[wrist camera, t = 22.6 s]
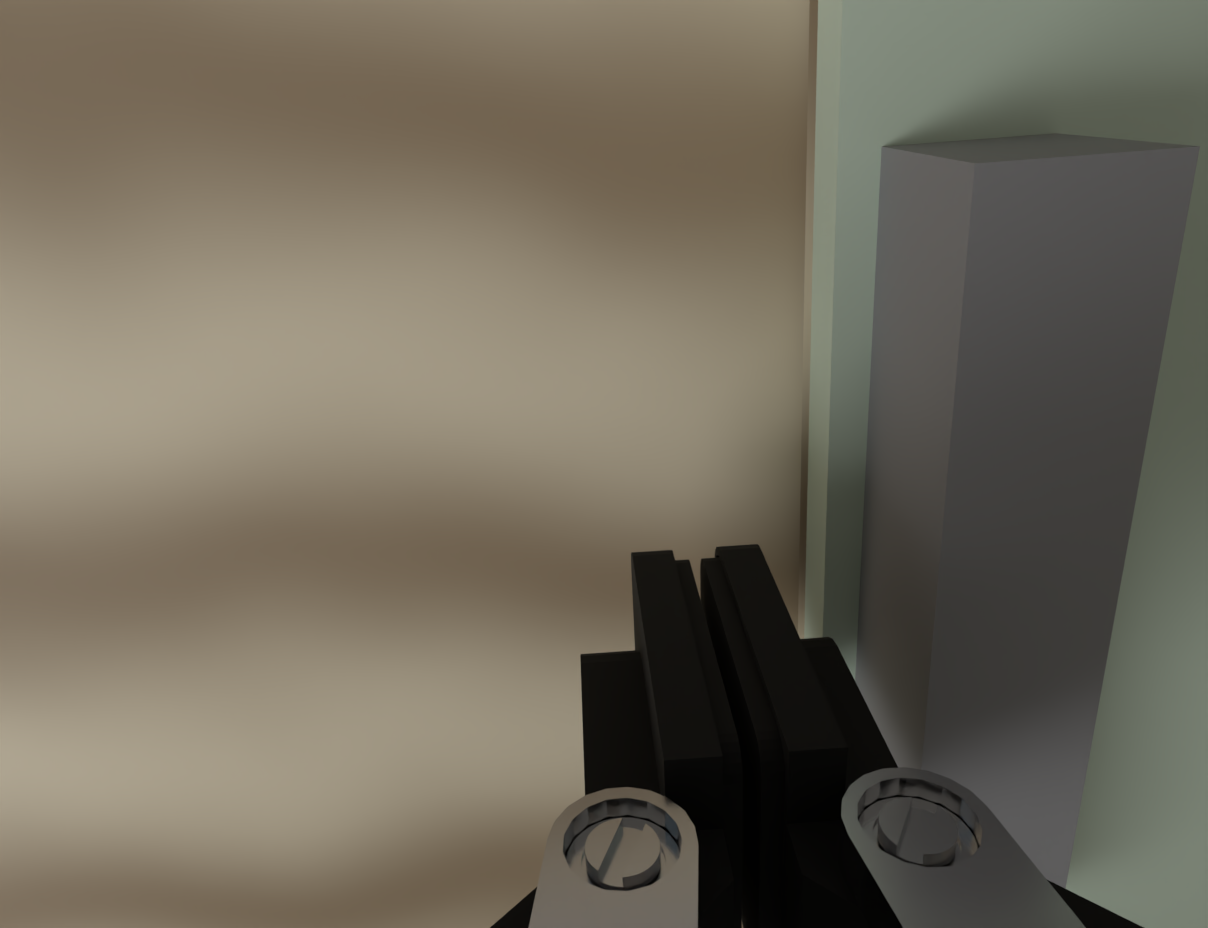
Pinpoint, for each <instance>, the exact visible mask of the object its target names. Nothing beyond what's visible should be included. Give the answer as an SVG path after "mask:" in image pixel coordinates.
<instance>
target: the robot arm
mask: <svg viewBox="0 0 1208 928" xmlns="http://www.w3.org/2000/svg"><path fill="white" fill-rule="evenodd" d="M631 573H632V595H633V617H634V639H635V650H633V651H618V652H604V653H589V654H581V655H580V660H581V691H582V721H583V751H584V780H585V796H584V797H582V798H580V799H579V800H577V801H575V802H574V803H572V804H571V805H569V806H568V807H567V808H566V809H565V810H564V811H563V812H562V813H561V814H560V816H559V817H558V818H557V819H556V820H555V821H554V824H553V826H552V828H551V831H550V833H549V836H548V838H547V842H546V847H545V852H544V857H543V861H542V866H541V871H540V876H539V880H538V885H537V887H536V888H535V889H534V890H533V891H531V892H530V893H529V894H528V895H527V896H526V897H525V898H523V899H522V900H521V901H520V902H519V903H518V904H516V905H515V906H514V907H513V908H512V909H511V910H510V911H508V912H507V913H506V914H505V915H504V916H503V917H502V918H500V919H499V920H498V921H497V922H496V923H495V924H494V925H492V926H491V927H490V928H742V924H743V928H1144V927H1142V926H1140V925H1138V924H1136V923H1134V922H1132V921H1130V920H1128V919H1126V918H1124V917H1121V916H1119V915H1117V914H1115V913H1113V912H1111V911H1109V910H1107V909H1105V908H1103V907H1101V906H1099V905H1097V904H1095V903H1093V902H1091V901H1089V900H1087V899H1085V898H1083V897H1081V896H1079V895H1077V894H1075V893H1073V892H1071V891H1069V890H1067V889H1065V888H1063V887H1061V886H1059V885H1057V884H1055V883H1053V882H1051V881H1049V880H1047V879H1046V878H1045V877H1044V876H1043V874H1042V873H1041V872H1040V871H1039V869H1038V868H1037V867H1036V866H1035V865H1034V863H1033V862H1032V861H1031V860H1030V858H1029V857H1028V856H1027V855H1026V853H1025V852H1024V851H1023V850H1022V848H1021V847H1020V846H1019V845H1018V844H1017V842H1016V841H1015V840H1014V839H1013V837H1012V836H1011V835H1010V834H1009V832H1008V831H1007V830H1006V829H1005V828H1004V826H1003V825H1002V824H1001V823H1000V821H999V820H998V819H997V818H996V816H995V815H994V814H993V813H992V812H991V810H990V809H989V808H988V807H987V806H986V805H985V804H984V803H983V802H982V801H981V800H980V799H979V798H978V797H977V796H976V795H975V794H974V793H973V792H972V791H971V790H969V789H967V788H965V787H964V786H962V785H960V784H959V783H957V782H955V781H954V780H952V779H950V778H947V777H945V776H942V775H939V774H936V773H933V772H930V771H928V770H921V769H914V768H907V767H898V766H897V764H896V762H895V760H894V758H893V756H892V754H891V752H890V750H889V748H888V746H887V744H886V742H885V740H884V738H883V736H882V734H881V732H880V730H879V728H878V726H877V724H876V722H875V720H874V718H873V716H872V714H871V712H870V710H869V708H868V706H867V704H866V702H865V700H864V698H863V696H862V694H861V692H860V690H859V688H858V686H857V684H856V682H855V680H854V678H853V676H852V674H851V672H850V670H849V668H848V666H847V664H846V662H845V660H844V658H843V656H842V654H841V652H840V650H839V648H838V646H837V644H836V643H835V641H834V640H833V639H832V638H830V637H821V638H806V639H800V637H799V635H798V632H797V630H796V628H795V626H794V623H793V621H792V619H791V617H790V614H789V612H788V610H787V607H786V605H785V603H784V601H783V598H782V596H781V594H780V591H779V589H778V587H777V585H776V582H775V580H774V578H773V575H772V573H771V571H770V569H769V566H768V564H767V562H766V560H765V557H764V555H763V553H762V550H761V548H760V546H759V545H758V544H750V545H735V546H720V547H716V549H715V558H702V559H701V563H700V596H699V593H698V589H697V585H696V582H695V578H694V574H693V571H692V567H691V564H690V561H689V559H687V560H675V558H674V554H673V551H672V550H660V551H646V552H631ZM700 597H701V600H700Z"/></svg>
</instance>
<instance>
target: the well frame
mask: <svg viewBox="0 0 1208 928" xmlns="http://www.w3.org/2000/svg"><path fill="white" fill-rule="evenodd" d="M817 32H818V0H0V928H490V927H491V926H492V925H494V924H495V923H496V922H497V921H498V920H499V919H500V918H502V917H503V916H504V915H505V914H506V913H507V912H508V911H510V910H511V909H512V908H513V907H514V906H515V905H516V904H518V903H519V902H520V901H521V900H522V899H523V898H525V897H526V896H527V895H528V894H529V893H530V892H531V891H533V890H534V889H535V888H536V887H537V885H538V880H539V876H540V871H541V866H542V861H543V857H544V852H545V847H546V842H547V838H548V836H549V833H550V831H551V828H552V826H553V824H554V821H555V820H556V819H557V818H558V817H559V816H560V814H561V813H562V812H563V811H564V810H565V809H566V808H567V807H568V806H569V805H571V804H572V803H574V802H575V801H577V800H579V799H580V798H582V797H584V796H585V780H584V751H583V721H582V691H581V660H580V655H581V654H589V653H604V652H618V651H633V650H635V639H634V617H633V595H632V573H631V552H646V551H660V550H672V551H673V554H674V558H675V560H687V559H689V561H690V564H691V567H692V571H693V574H694V578H695V582H696V585H697V589H698V593H699V596H700V563H701V559H702V558H715V549H716V547H720V546H735V545H750V544H758V545H759V546H760V548H761V550H762V553H763V555H764V557H765V560H766V562H767V564H768V566H769V569H770V571H771V573H772V575H773V578H774V580H775V582H776V585H777V587H778V589H779V591H780V594H781V596H782V598H783V601H784V603H785V605H786V607H787V610H788V612H789V614H790V617H791V619H792V621H793V623H794V626H795V628H796V630H797V632H798V635H799V637H800V639H804V625H805V579H806V534H807V488H808V443H809V397H810V351H811V306H812V260H813V215H814V169H815V123H816V78H817ZM700 600H701V597H700ZM742 928H743V924H742Z"/></svg>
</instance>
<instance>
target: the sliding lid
mask: <svg viewBox="0 0 1208 928" xmlns="http://www.w3.org/2000/svg"><path fill="white" fill-rule="evenodd" d="M821 637H830V638H832V639H833V640H834V641H835V643H836V644H837V646H838V648H839V650H840V652H841V654H842V656H843V658H844V660H845V662H846V664H847V666H848V668H849V670H850V672H851V674H852V676H853V678H854V680H855V682H856V684H857V686H858V688H859V690H860V692H861V694H862V696H863V698H864V700H865V702H866V704H867V706H868V708H869V710H870V712H871V714H872V716H873V718H874V720H875V722H876V724H877V726H878V728H879V730H880V732H881V734H882V736H883V738H884V740H885V742H886V744H887V746H888V748H889V750H890V752H891V754H892V756H893V758H894V760H895V762H896V764H897V766H898V767H907V768H914V769H921V770H928V771H930V772H933V773H936V774H939V775H942V776H945V777H947V778H950V779H952V780H954V781H955V782H957V783H959V784H960V785H962V786H964V787H965V788H967V789H969V790H971V791H972V792H973V793H974V794H975V795H976V796H977V797H978V798H979V799H980V800H981V801H982V802H983V803H984V804H985V805H986V806H987V807H988V808H989V809H990V810H991V812H992V813H993V814H994V815H995V816H996V818H997V819H998V820H999V821H1000V823H1001V824H1002V825H1003V826H1004V828H1005V829H1006V830H1007V831H1008V832H1009V834H1010V835H1011V836H1012V837H1013V839H1014V840H1015V841H1016V842H1017V844H1018V845H1019V846H1020V847H1021V848H1022V850H1023V851H1024V852H1025V853H1026V855H1027V856H1028V857H1029V858H1030V860H1031V861H1032V862H1033V863H1034V865H1035V866H1036V867H1037V868H1038V869H1039V871H1040V872H1041V873H1042V874H1043V876H1044V877H1045V878H1046V879H1047V880H1049V881H1051V882H1053V883H1055V884H1057V885H1059V886H1061V887H1063V888H1065V889H1067V890H1069V891H1071V892H1073V893H1075V894H1077V895H1079V896H1081V897H1083V898H1085V899H1087V900H1089V901H1091V902H1093V903H1095V904H1097V905H1099V906H1101V907H1103V908H1105V909H1107V910H1109V911H1111V912H1113V913H1115V914H1117V915H1119V916H1121V917H1124V918H1126V919H1128V920H1130V921H1132V922H1134V923H1136V924H1138V925H1140V926H1142V927H1144V928H1208V0H818V32H817V78H816V123H815V169H814V215H813V260H812V306H811V351H810V397H809V443H808V488H807V534H806V579H805V625H804V639H806V638H821Z"/></svg>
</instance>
